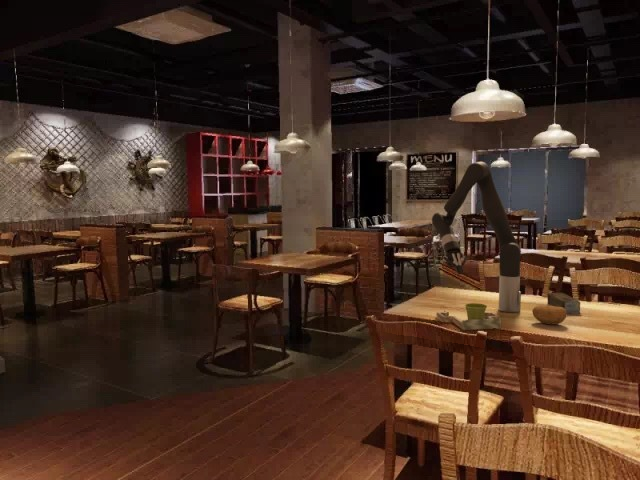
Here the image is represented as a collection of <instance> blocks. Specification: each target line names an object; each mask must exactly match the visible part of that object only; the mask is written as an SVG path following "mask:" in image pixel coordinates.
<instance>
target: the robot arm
mask: <svg viewBox="0 0 640 480" xmlns="http://www.w3.org/2000/svg"><path fill="white" fill-rule="evenodd" d="M476 184H477V186H478V187H479V190H480V194H481V204H482V205H481V206H482V211H483V213H484V215H485V217H486V220H487V222H488V224H489V226H490V228H491V229H492V231H493V232H494V233H495V235H496V237H497V240H498V244H499V247H500V250H499V267H498V269H499V285H498V291H499V292H498V310H499V311H501V312H504V313H517V312H521V304H522V303H521V302H522V301H521V300H522V291H520V285H521V283H520V281H521V254H522V249H521V247H520V245H519V243H518V241H517V239H516V237H515V235H514V234H513V232H512V229H511V225H510V221H509V218H508V215H507V212H506V209H505V207H504V205H503V203H502V199H501V198H500V195H499V193H498V191H497V188H496V186H495V183H494V180H493V176H492V172H491V168H490V167H489V165H488V164H487V163H486V162H484V161H475V162H472V163H471V164H469V165H468V166H467V168H466V170H465V172H464V174H463V176H462V178H461V180H460V182H459V184H458V186H457V187H456V189H455V191H454V192H453V193H452V194H451V196H450V197H449V199H447V201H446V203H445V204H444V206H443V210H444V211H445V212H446V214H445V213H442V212H435V213H434V214H433V215H432V217H431V222H432V226H433V228H434V229H435V230H436V232H437V233H438V235H439V237H440V240H441V244H442V247H443V251H444V253H445V256H443V259H442V262H443V263H444V264H446V265H447V266H449V267H450V268H454V269H455V272H456V274H457V275H462V274H463V272H464V269H463V267H464V266H465V264H466V262H467V261H468V258H469V256H468V255H464V253H462V252H461V247H460V245H459V241H458V239H457V237H456V235H455V232H454V230H453V228H452V226H453V223H454V220H455V217H456V215H457V214H458V211H459V210H460V208H461V207H462V206H463V204H464V203H465V200H466V199H467V196H468V194H469V193H470V191H471V190H472V188H473V187H474V186H475V185H476Z"/></svg>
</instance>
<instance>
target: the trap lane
mask: <svg viewBox="0 0 640 480" xmlns="http://www.w3.org/2000/svg"><path fill="white" fill-rule="evenodd" d="M435 314H436V319H438V320H439V321H440V320H441V321H440V322H442V323H453V324H455V325H456V326H457V327H459V328H460V329H461V330H463V331H469V330H491V329H492V330H493V328H496V329H501V316H500V315H498V314H497V313H495V312H493V311H485V314H484V319H474V320H468V319H463V320H461V319H460V318H458V317H457V316H455V315H450V312H449V311H448V310H444V311H436V313H435Z"/></svg>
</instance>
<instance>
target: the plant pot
mask: <svg viewBox="0 0 640 480" xmlns="http://www.w3.org/2000/svg"><path fill="white" fill-rule="evenodd" d="M464 307H465V309H466V315H467V316H466V317H467V320H474V319H485V318H484V314H485V312H486V310H487V307H488V306H487V304H485V303H484V304H483V303H479V302H478V303H477V302H468V303H465V304H464Z"/></svg>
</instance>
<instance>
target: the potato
mask: <svg viewBox="0 0 640 480" xmlns="http://www.w3.org/2000/svg"><path fill="white" fill-rule="evenodd" d="M531 311H532V316H533V317H534V319H536V320H537V321H539V322H540V323H541V324H545V325H558V324H561V323H563V322H564V321H565V320H566V318H567V316H568V313H567V312H566V310H565V309H564V308H562V307H555V306H550V305H536V306H534V307H533V308H532V310H531Z"/></svg>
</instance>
